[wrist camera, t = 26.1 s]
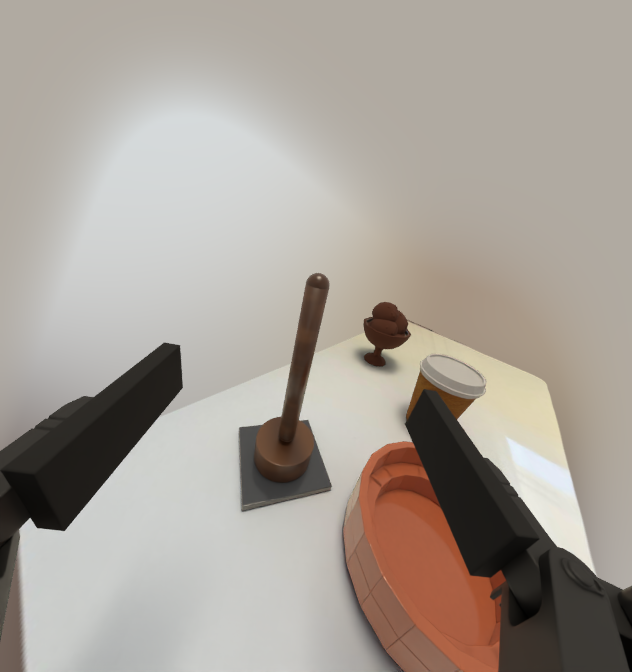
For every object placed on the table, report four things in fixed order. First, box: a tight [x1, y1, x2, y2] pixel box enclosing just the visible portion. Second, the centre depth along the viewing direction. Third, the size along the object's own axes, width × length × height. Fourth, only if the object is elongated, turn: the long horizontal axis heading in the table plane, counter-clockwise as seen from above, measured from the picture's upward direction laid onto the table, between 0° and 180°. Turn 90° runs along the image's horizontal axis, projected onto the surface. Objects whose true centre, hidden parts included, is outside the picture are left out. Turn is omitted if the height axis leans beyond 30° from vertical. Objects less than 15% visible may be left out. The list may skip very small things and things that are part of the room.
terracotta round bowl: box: [343, 441, 506, 672], centre depth 22 cm, size 17×17×6 cm
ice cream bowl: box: [364, 302, 411, 367], centre depth 54 cm, size 11×11×15 cm
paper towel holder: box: [254, 273, 329, 483], centre depth 24 cm, size 7×7×23 cm
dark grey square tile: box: [239, 420, 332, 511], centre depth 29 cm, size 10×10×1 cm
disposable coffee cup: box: [406, 354, 486, 420], centre depth 38 cm, size 10×10×12 cm
